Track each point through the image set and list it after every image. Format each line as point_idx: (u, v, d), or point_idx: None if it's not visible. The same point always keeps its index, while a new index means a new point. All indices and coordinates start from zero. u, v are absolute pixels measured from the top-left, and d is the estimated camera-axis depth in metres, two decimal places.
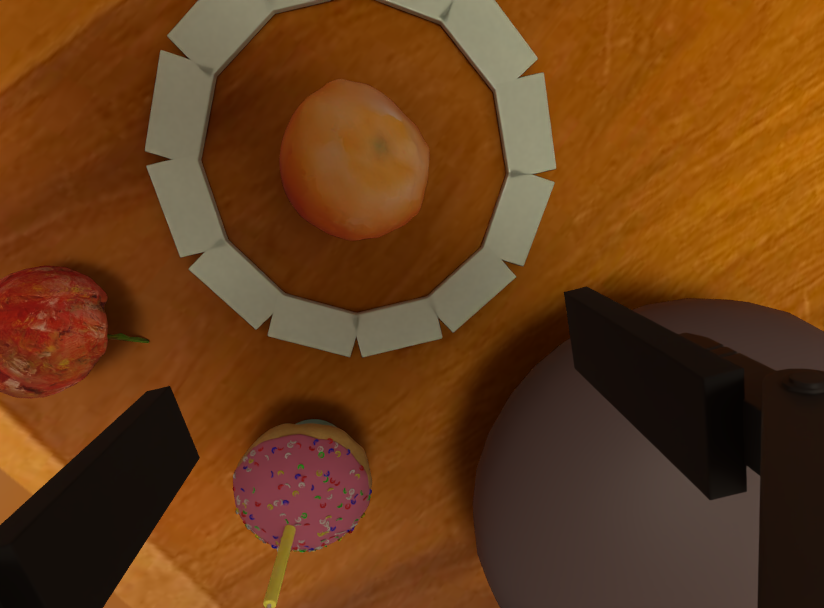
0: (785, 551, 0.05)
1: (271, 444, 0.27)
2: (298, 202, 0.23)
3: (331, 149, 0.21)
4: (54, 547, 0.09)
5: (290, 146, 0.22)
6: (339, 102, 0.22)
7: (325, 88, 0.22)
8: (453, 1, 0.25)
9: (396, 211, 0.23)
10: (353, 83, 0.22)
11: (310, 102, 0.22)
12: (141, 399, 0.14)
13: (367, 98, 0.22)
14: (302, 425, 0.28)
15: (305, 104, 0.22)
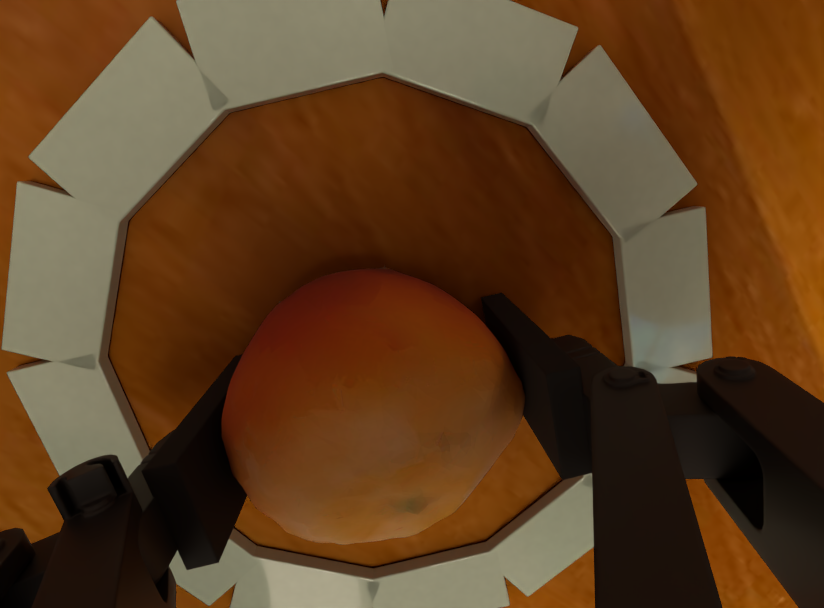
0: (612, 527, 0.06)
1: None
2: (287, 338, 0.10)
3: (400, 439, 0.10)
4: (200, 472, 0.10)
5: (406, 344, 0.10)
6: (490, 430, 0.11)
7: (512, 385, 0.12)
8: None
9: (284, 525, 0.12)
10: (517, 426, 0.12)
11: (492, 375, 0.11)
12: (233, 361, 0.15)
13: (493, 461, 0.12)
14: None
15: (488, 364, 0.11)
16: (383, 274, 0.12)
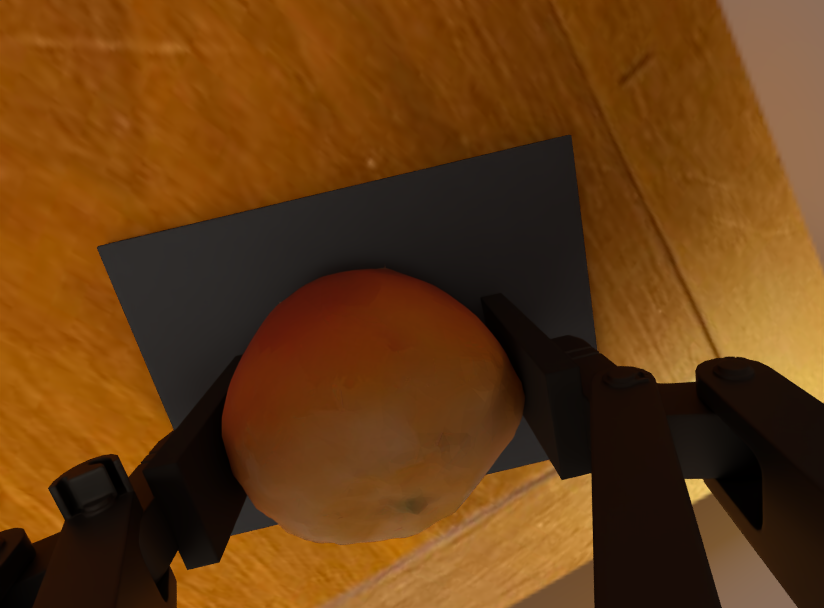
0: (611, 527, 0.06)
1: None
2: (287, 339, 0.10)
3: (400, 439, 0.10)
4: (201, 472, 0.11)
5: (406, 344, 0.10)
6: (489, 430, 0.11)
7: (512, 385, 0.12)
8: None
9: (284, 524, 0.12)
10: (517, 426, 0.12)
11: (492, 375, 0.11)
12: (234, 361, 0.15)
13: (493, 461, 0.12)
14: None
15: (487, 364, 0.11)
16: (383, 274, 0.12)
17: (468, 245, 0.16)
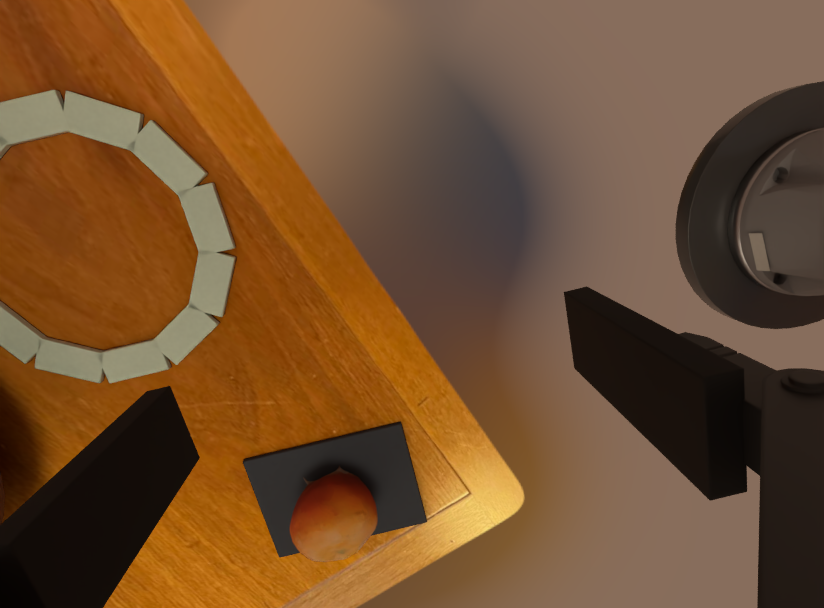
0: (784, 550, 0.05)
1: None
2: (309, 510, 0.40)
3: (337, 537, 0.40)
4: (54, 547, 0.09)
5: (338, 513, 0.40)
6: (362, 531, 0.41)
7: (371, 517, 0.41)
8: (201, 311, 0.40)
9: (307, 556, 0.41)
10: (374, 527, 0.42)
11: (362, 518, 0.40)
12: (141, 399, 0.14)
13: (366, 538, 0.42)
14: None
15: (361, 515, 0.40)
16: (335, 485, 0.42)
17: (368, 457, 0.45)
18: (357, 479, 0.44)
